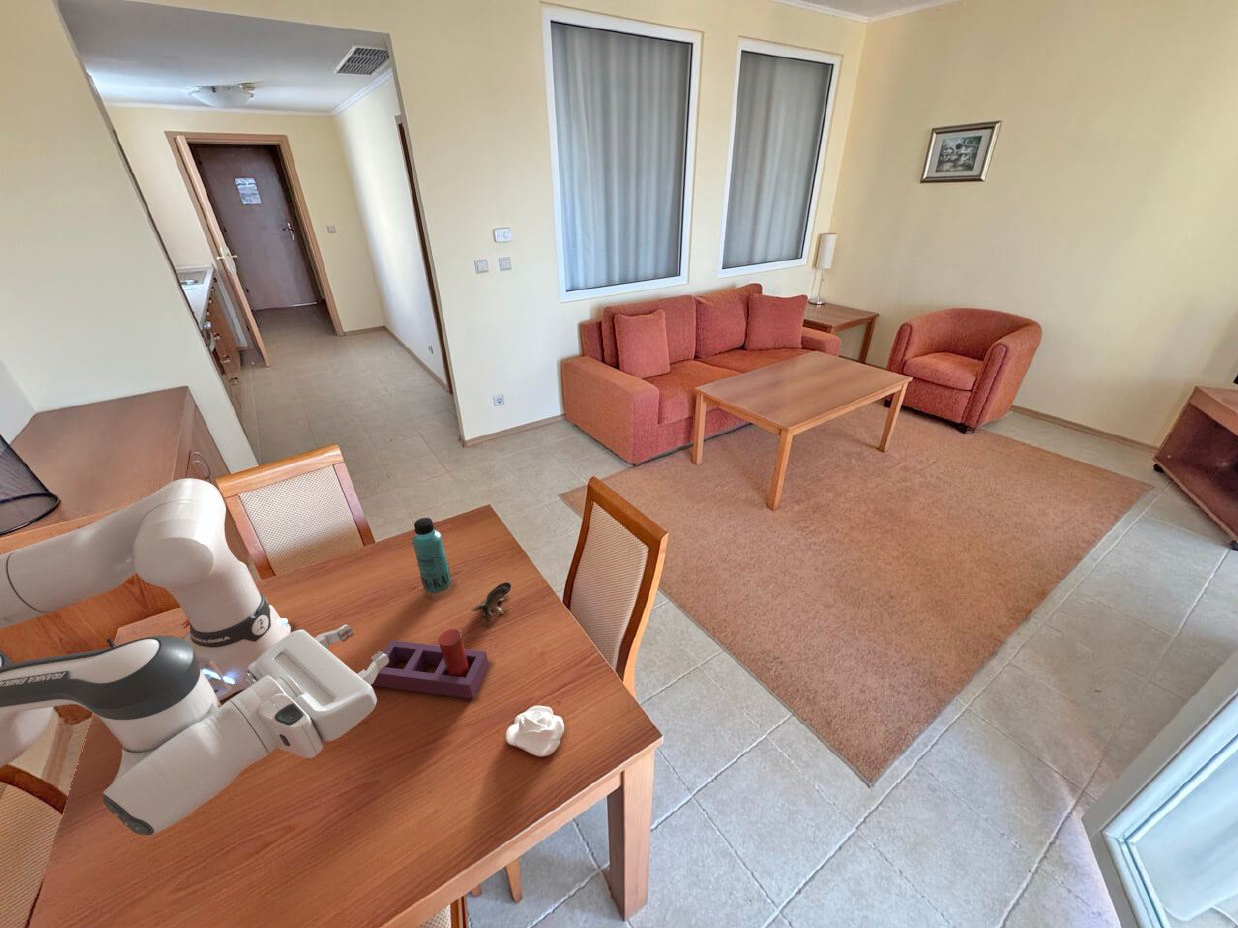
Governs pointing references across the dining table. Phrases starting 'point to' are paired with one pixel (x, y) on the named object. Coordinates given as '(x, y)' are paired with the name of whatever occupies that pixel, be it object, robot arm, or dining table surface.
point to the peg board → (429, 682)
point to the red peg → (454, 653)
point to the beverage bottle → (430, 556)
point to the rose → (536, 731)
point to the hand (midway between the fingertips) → (367, 642)
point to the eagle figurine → (493, 601)
